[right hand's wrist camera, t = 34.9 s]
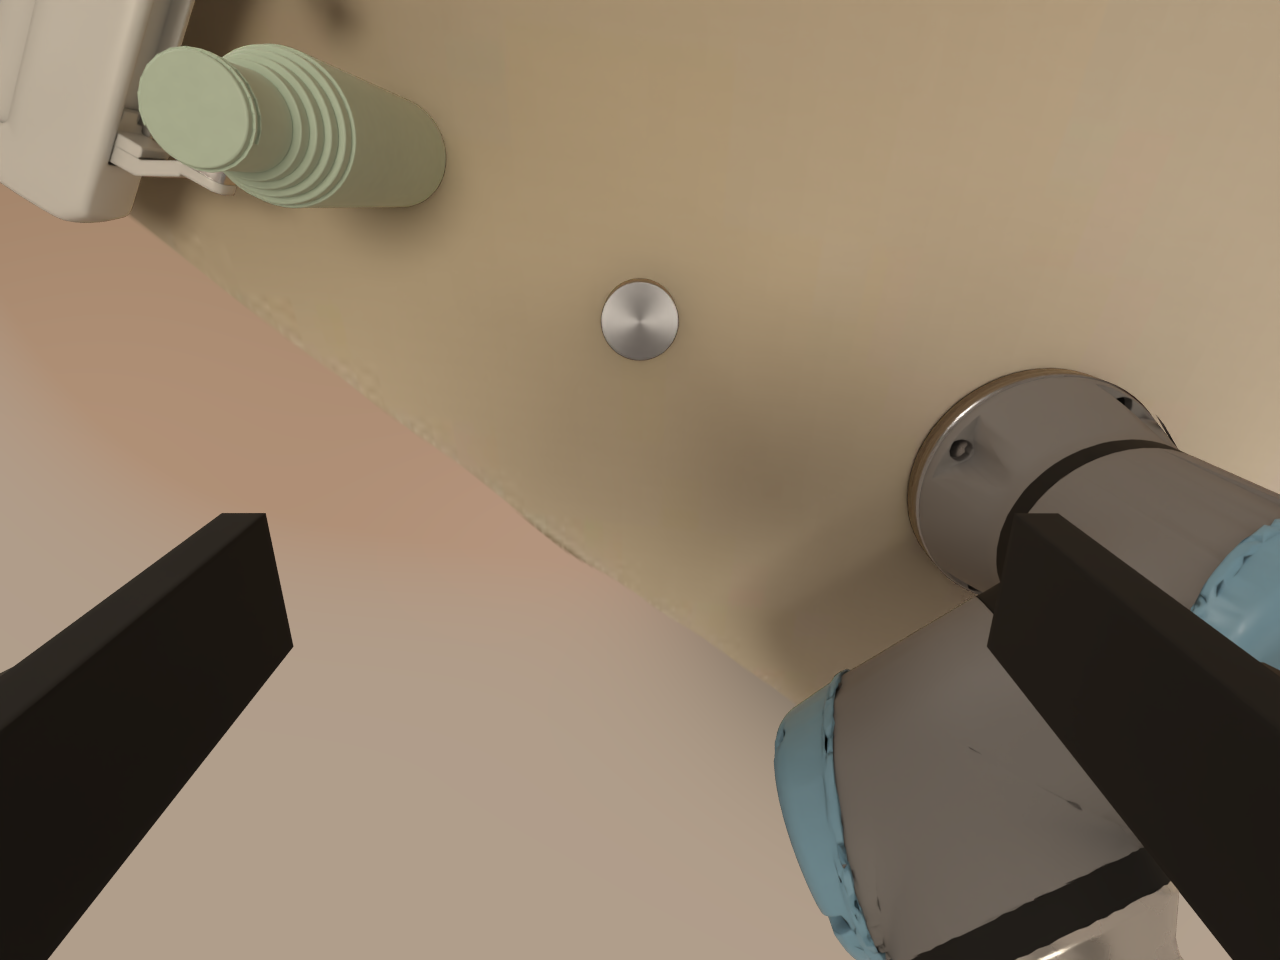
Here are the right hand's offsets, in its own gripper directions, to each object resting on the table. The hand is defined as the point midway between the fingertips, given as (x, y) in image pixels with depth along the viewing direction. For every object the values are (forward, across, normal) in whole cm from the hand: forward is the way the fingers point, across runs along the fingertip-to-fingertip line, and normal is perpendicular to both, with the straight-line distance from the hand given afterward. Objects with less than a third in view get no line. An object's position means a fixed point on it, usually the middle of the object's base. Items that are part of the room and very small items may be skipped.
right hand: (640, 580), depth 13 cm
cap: (+30, 0, 0) cm, 30 cm away
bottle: (+32, +14, -9) cm, 36 cm away
